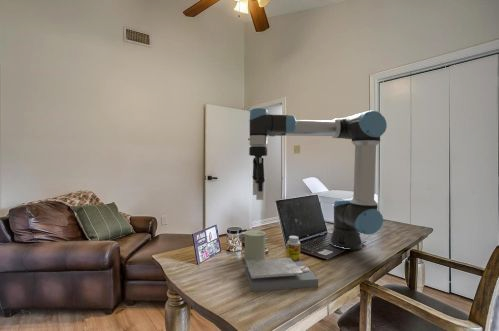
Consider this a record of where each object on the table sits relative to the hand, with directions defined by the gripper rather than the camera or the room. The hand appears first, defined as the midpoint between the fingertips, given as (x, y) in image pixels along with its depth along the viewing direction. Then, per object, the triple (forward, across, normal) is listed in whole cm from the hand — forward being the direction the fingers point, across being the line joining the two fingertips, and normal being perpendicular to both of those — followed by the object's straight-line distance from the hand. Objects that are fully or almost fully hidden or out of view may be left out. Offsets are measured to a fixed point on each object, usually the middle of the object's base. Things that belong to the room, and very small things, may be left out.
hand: (257, 197), depth 105 cm
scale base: (+27, +16, +6) cm, 32 cm away
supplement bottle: (+27, 0, +16) cm, 31 cm away
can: (+27, -2, -1) cm, 28 cm away
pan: (+23, +16, +4) cm, 28 cm away
